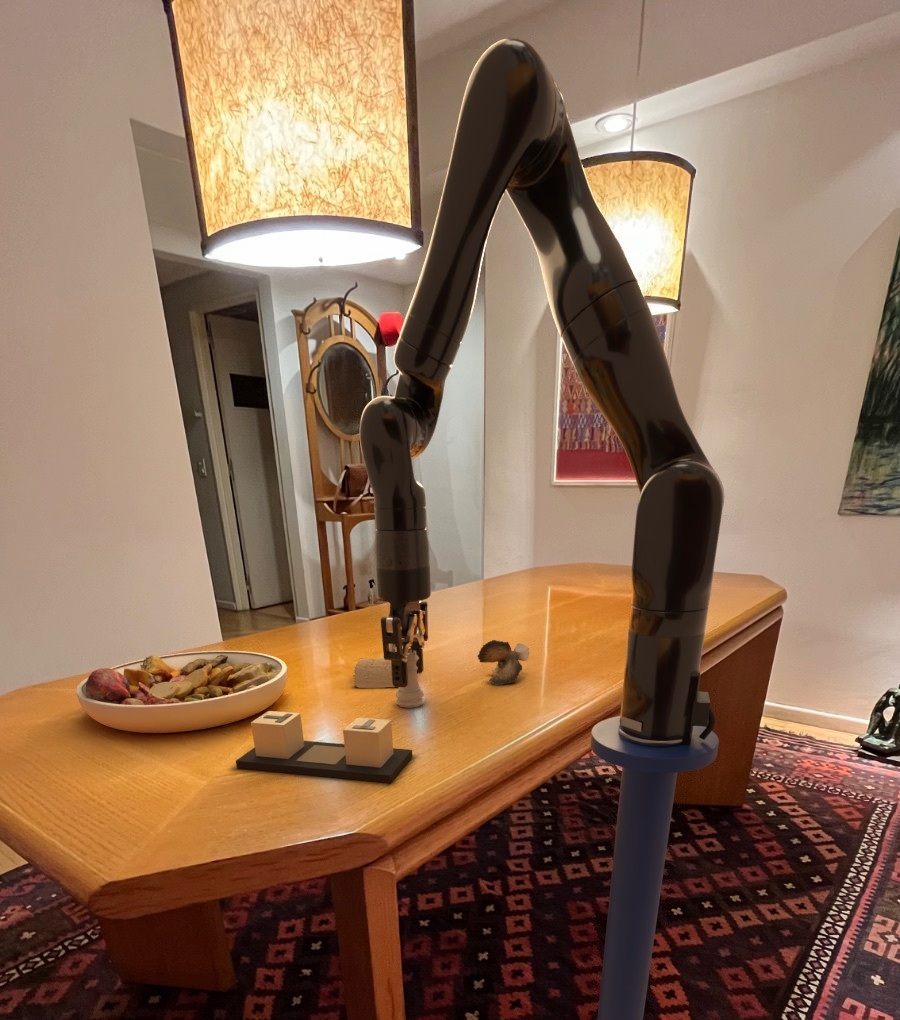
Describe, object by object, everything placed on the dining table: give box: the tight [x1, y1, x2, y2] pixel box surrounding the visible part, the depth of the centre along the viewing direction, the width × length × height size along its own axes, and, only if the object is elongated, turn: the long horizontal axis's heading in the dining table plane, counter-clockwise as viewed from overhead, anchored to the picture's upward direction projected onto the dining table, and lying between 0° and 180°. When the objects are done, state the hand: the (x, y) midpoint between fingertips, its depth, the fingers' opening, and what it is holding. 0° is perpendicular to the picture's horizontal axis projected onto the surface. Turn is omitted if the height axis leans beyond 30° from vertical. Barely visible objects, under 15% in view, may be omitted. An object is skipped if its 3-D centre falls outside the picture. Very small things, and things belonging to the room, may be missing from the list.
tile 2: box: [342, 717, 394, 768], centre depth 80 cm, size 4×4×4 cm
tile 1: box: [250, 710, 305, 759], centre depth 83 cm, size 4×4×4 cm
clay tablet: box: [353, 657, 396, 689], centre depth 117 cm, size 14×10×3 cm
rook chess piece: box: [395, 650, 426, 709], centre depth 101 cm, size 4×4×8 cm
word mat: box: [235, 740, 413, 784], centre depth 83 cm, size 20×8×1 cm, turn 75°
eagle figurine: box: [477, 639, 530, 686], centre depth 113 cm, size 8×7×9 cm
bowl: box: [75, 650, 289, 734], centre depth 103 cm, size 30×30×8 cm
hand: (408, 679), depth 101 cm, fingers open, 7 cm apart
